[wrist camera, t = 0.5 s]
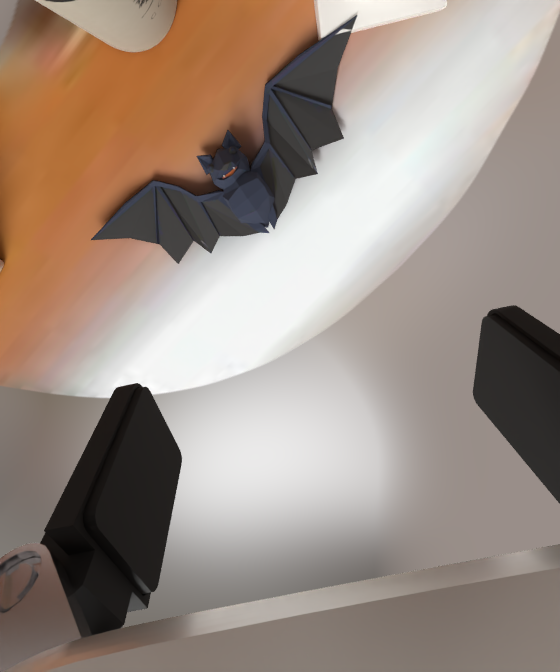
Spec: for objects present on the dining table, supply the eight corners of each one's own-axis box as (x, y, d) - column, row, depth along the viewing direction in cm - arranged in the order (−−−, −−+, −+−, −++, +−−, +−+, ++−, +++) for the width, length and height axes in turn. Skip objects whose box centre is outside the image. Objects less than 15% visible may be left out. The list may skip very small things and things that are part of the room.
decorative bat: (153, 320, 36) (76, 239, 32) (164, 305, 39) (95, 231, 36) (418, 129, 29) (360, -5, 25) (401, 132, 32) (348, 16, 29)
